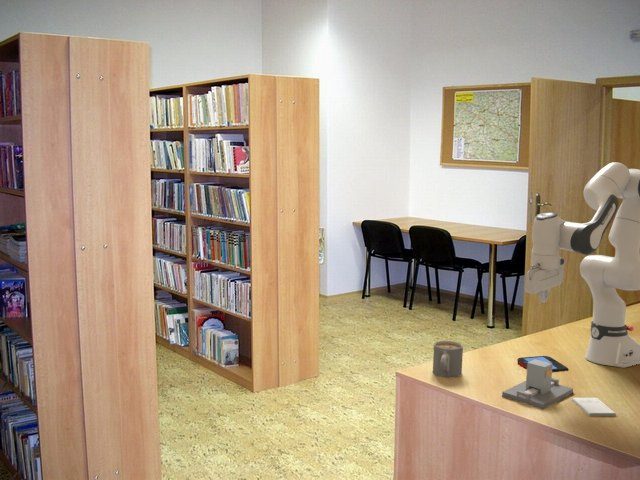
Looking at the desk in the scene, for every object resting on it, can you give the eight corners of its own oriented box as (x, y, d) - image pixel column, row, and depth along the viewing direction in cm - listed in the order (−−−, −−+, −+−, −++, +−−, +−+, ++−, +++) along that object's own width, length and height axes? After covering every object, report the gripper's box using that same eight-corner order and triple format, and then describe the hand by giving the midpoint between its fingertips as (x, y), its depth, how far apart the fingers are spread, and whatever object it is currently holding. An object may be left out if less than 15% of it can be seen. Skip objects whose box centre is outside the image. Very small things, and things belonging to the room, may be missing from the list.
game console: (534, 375, 237) (535, 369, 237) (514, 363, 249) (514, 357, 249) (569, 371, 242) (570, 365, 241) (547, 360, 254) (548, 354, 253)
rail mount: (533, 381, 230) (533, 372, 229) (572, 392, 220) (573, 383, 219) (502, 396, 216) (502, 387, 215) (543, 409, 206) (543, 399, 205)
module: (533, 385, 221) (535, 359, 220) (551, 390, 217) (553, 363, 216) (525, 389, 218) (527, 362, 217) (543, 394, 214) (545, 367, 212)
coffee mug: (439, 366, 244) (440, 339, 242) (465, 371, 238) (467, 344, 237) (423, 376, 233) (425, 348, 231) (451, 382, 227) (452, 353, 226)
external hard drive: (589, 418, 201) (571, 402, 214) (616, 418, 202) (597, 402, 214) (589, 413, 201) (572, 397, 213) (616, 413, 202) (597, 397, 214)
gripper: (538, 267, 216) (537, 309, 219) (567, 258, 231) (565, 297, 233) (520, 265, 221) (519, 306, 223) (550, 256, 235) (548, 294, 237)
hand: (543, 301), depth 228 cm, fingers closed
